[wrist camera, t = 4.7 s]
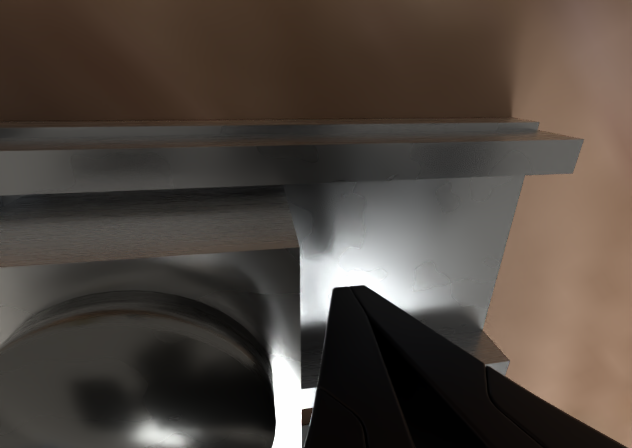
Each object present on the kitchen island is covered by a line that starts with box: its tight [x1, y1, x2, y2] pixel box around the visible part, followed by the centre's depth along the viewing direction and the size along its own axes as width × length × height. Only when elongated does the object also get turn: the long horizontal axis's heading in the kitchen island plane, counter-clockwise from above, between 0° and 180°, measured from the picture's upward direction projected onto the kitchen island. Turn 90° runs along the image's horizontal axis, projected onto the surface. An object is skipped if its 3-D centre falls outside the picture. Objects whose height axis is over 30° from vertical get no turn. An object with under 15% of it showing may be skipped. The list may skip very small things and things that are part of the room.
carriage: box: [0, 185, 301, 448], centre depth 7 cm, size 5×5×4 cm
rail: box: [0, 118, 584, 409], centre depth 9 cm, size 14×8×3 cm, turn 89°
